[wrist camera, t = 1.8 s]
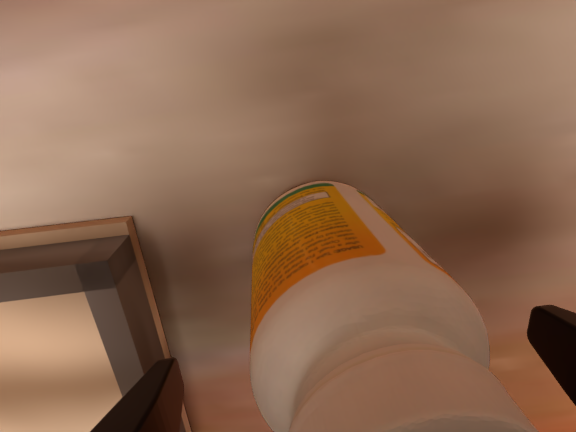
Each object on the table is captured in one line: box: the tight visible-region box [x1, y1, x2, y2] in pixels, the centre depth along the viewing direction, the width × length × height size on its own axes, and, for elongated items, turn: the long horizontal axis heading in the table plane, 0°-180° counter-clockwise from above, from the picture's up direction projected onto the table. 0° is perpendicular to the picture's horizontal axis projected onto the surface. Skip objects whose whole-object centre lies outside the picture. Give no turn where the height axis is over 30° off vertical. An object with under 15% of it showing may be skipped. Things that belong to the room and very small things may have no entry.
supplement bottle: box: [250, 181, 538, 432], centre depth 9 cm, size 5×5×10 cm
